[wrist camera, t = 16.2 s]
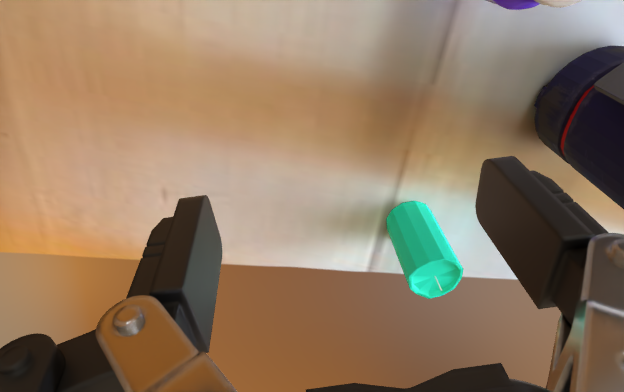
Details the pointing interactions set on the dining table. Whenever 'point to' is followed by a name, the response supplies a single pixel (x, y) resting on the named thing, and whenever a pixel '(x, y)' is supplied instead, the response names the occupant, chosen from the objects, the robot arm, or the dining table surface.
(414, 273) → the candle
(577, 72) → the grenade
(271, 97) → the dining table surface
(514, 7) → the bottle
